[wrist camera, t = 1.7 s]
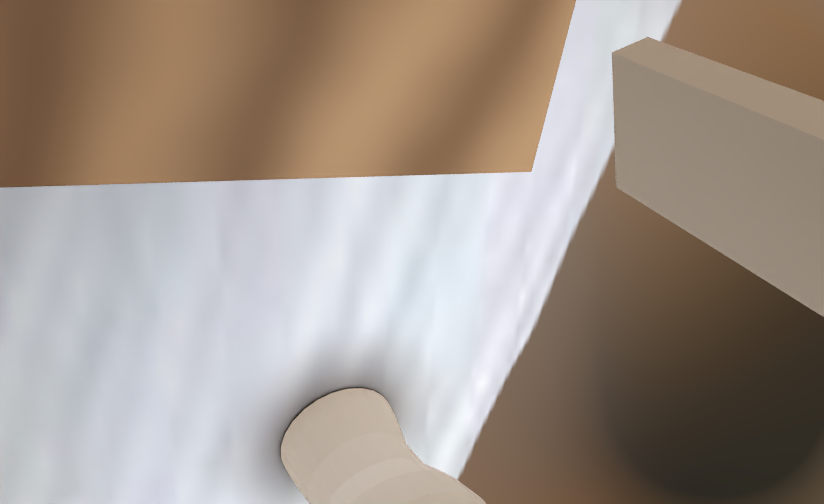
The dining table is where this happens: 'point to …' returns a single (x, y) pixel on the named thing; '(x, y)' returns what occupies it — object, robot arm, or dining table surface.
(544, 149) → the dining table surface
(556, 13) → the cabinet
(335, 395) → the cup
